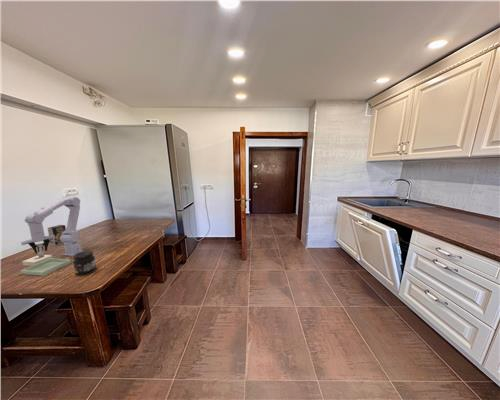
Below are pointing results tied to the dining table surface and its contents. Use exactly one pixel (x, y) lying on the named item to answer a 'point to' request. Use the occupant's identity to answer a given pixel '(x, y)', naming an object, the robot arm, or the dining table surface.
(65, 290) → the dining table surface
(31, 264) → the socket block
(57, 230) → the coffee box
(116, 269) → the dining table surface
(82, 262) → the supplement container
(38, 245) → the steel pin
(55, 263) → the tray
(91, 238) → the dining table surface
